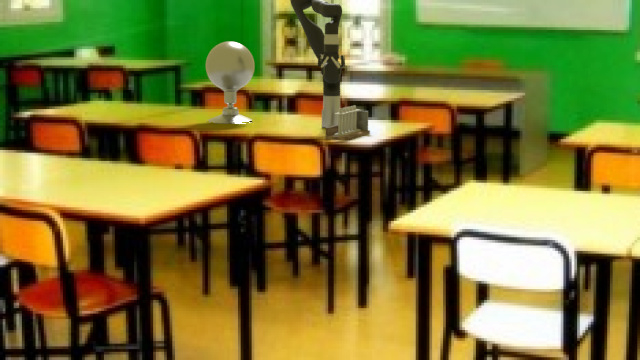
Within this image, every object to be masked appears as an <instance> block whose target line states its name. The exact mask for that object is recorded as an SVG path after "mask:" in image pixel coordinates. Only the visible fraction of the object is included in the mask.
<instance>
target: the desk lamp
mask: <svg viewBox="0 0 640 360" xmlns="http://www.w3.org/2000/svg"><path fill="white" fill-rule="evenodd" d="M255 65H256V64H255V60H254V56H253V54H252V52H250V50H249V49H248V48H247V47H246V46H245V45H243V44H241V43H239V42H236V41H223V42H220V43H219V44H217V45H215V46H214V47H213V48H212V49H211V50H210V51H209V53H208V55H207V57H206V60H205V71H206V72H205V73H206V74H207V77H208V79H209V80H210V81H211V83H212V84H213V85H215V86H216V87H217V88H219V89H221V91H223V95H224V96H223V98H224V104H226V105H227V106H225V107H223V108H222V113H221V114H219V115H217V116H214V117H211V118H209V119H207V120H208V121H209V122H208V123H211V122H213V123H214V124H229V123H230V124H243V123H242V122H249V121H252V119H253V118H249V117H247V116H244V115H242V114H240V112H239V111H240V110H239V108H238V107H235V106H234V105H235V104H237V102H238V101H237V92H238V91H239V90H240V89H241V88H243V87H245V86H247V84H249V83H250V82H251V80H252V78H253V76H254V73H255ZM213 123H212V124H213ZM249 123H250V122H249Z"/></svg>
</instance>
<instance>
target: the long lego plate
mask: <svg viewBox="0 0 640 360" xmlns="http://www.w3.org/2000/svg"><path fill="white" fill-rule="evenodd" d="M357 111H362V110H361V109H358V108H357V105H351V106H345V107H342V108H340V109H339V113H334V114H338V133H336V134H334V136H344V135H347V134H351V133H354V132H358V131H361V129H357V127H356V124H357ZM352 127H353V129H352ZM342 130H343V132H342Z"/></svg>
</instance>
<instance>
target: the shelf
mask: <svg viewBox="0 0 640 360" xmlns="http://www.w3.org/2000/svg"><path fill="white" fill-rule="evenodd" d="M356 127H357V129H361V131H358V132H354V133H351V134H347V135H344V136H334V134H336V133H338V125H334V126H331V127H327V128H325V140H336V141H337V140H339V141H350V140H353V139H357V138H360V137H362V136H366V135H368V134H371V131H370V130H369V110H360V111H357V124H356ZM352 129H353V127H352ZM342 132H343V130H342Z"/></svg>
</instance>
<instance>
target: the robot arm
mask: <svg viewBox="0 0 640 360" xmlns="http://www.w3.org/2000/svg"><path fill="white" fill-rule="evenodd" d="M289 1H290V5H291V8H292V9H293V11H294V14H295V15H296V17H297V20H298V21H299V22H300V25H301V27H302V30H303V32H304V34H305V37H306V39H307V42H308V43H309V46H310V48H311V51H312V52H313V54H314V56H315V57H316V59H317V67H320V74H321V75H322V78H323V83H322V84H323V85H322V86H323V87H322V91H323V92H322V93H323V94H322V96H323V97H322V98H323V99H322V100H323V101H322V108H323V109H321V128H325V129H326V128H327V127H331V126H334V125H338V114H334V113H339V109H341V75H342V69H343V68H344V67H346V57H345V55H344V54H342V55H341V54H340V38H339V36H340V35H339V27H340V22H341V18H342V15H343V7H342V5H341V4H340V3H329V2H328V1H326V0H289ZM309 8H311V9H312V10H313V12H315V13H316V14H318V15H321V17H323V18H327V19H330V18H332V19H331V21H329V22H327V23H325V24H324V30H323V29H322V28H321V27H320V26H318V25H317V24H316V23H314V22H313V21H312V20H311V19H309V18H308V17H307V15H306V14H305V12H304V10H307V9H309ZM323 31H324V32H323ZM339 59H340V61H339Z"/></svg>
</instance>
